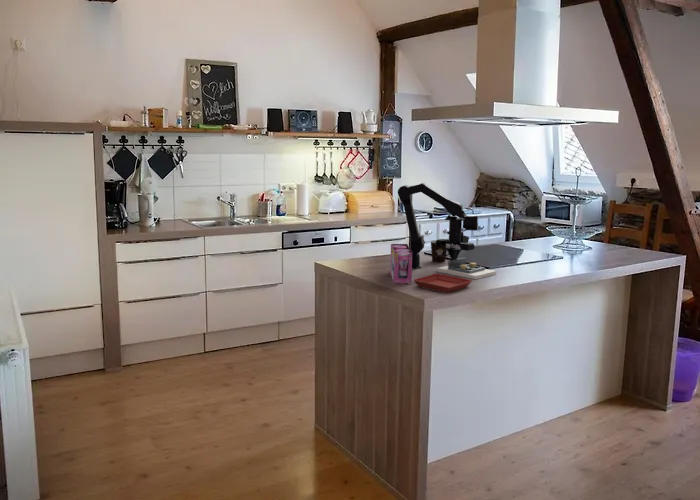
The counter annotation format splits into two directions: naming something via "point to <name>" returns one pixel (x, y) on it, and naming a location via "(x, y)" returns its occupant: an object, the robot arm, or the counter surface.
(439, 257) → the coffee mug
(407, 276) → the gum box
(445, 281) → the plant saucer
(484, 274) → the board
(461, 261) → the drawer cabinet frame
